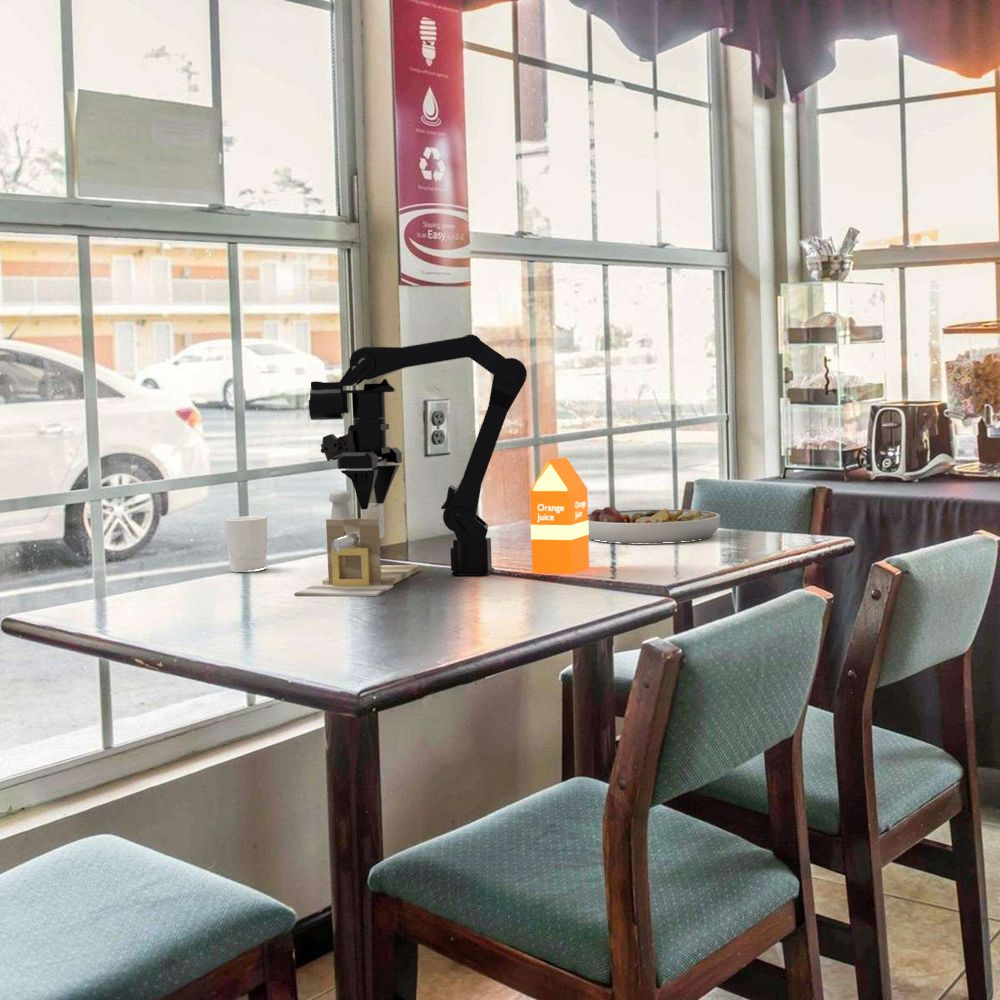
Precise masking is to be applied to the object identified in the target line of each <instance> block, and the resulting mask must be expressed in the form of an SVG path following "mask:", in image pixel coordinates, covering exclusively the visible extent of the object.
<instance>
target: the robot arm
mask: <svg viewBox="0 0 1000 1000" xmlns="http://www.w3.org/2000/svg"><path fill="white" fill-rule="evenodd" d="M466 358H469V359H471V360H472V361H473V362H475V363H476V364H478V365H479V366H481V367H482V368H483V369H484V370H485V371H487V372H488V373H490V374H491V375H492V376H493V377H492V381H491V382H492V383H491V389H490V394H489V400H488V406H487V409H486V412H485V415H484V417H483V420H482V423H481V426H480V429H479V431H478V434H477V435H476V436H477V437H476V439H475V442H474V445H473V449H472V450H471V454H470V457H469V460H468V461H467V465H466V467H465V469H464V473H463V476H462V479H461V480H460V482H459V484H458V485H457V487H456V486H454V485H453V484H450V485H449V486H448V489H447V493H446V494H447V495H446V500H445V502H444V503H443V504H442V505H441V507H440V509H441V510H443V513H442V519H443V522H444V523H443V524H444V525H445V527H446V528H447V529H448V530H450V531H452V532H453V533H454V535H455V539H453V540H452V545H453V546H452V547H451V548H450V570H451V576H488V575H490V574H491V573H493V572H494V571H495V567H493V566H492V563H493V561H492V537H487V534H488V531H489V530H488V529H489V525H488V523H486V521H485V520H484V519H482V518H481V517H480V516H479V515H478V514H477V513H478V507H479V503H480V496H481V491H482V484H483V482H484V478H485V476H486V473H487V470H488V468H489V464H490V461H491V459H492V456H493V454H494V451H495V448H496V445H497V442H498V440H499V437H500V434H501V432H502V428H503V425H504V423H505V421H506V417H507V415H508V413H509V411H510V409H511V407H512V405H513V404H514V403H515V400H516V398H517V396H518V395H519V393H520V391H521V390H522V387H523V386H524V385H525V382H526V380H527V375H528V371H527V368H526V366H525V365H524V363H523V362H522V361H521V360H519V359H517V358H515V357H508V358H507V357H505V356H504V355H502V354H500V353H499V352H497V350H495V349H493V348H492V347H490V346H489V345H488V344H486V343H485V342H484V341H482V340H481V338H480V337H478V336H477V335H475V334H466V335H464V336H461V337H455V338H450V339H442V340H438V341H432V342H431V341H430V342H426V343H420V344H419V343H418V344H414V345H407V346H402V347H398V346H397V347H396V346H394V347H393V346H361V347H359V348H356V349H355V350H354V351H353V353H352V354H351V355H350V358H349V368H348V369H347V370H346V372H345V373H344V374H343V376H341V379H340V380H339V381H329V382H323V381H311V382H310V391H309V399H308V412H309V418H310V420H311V421H323V420H324V421H325V420H327V421H329V420H344V419H345V414H350V411H351V410H350V409H351V401H350V400H351V399H350V394H351V396H352V397H351V398H352V424H350V425H349V426H348V429H347V430H348V431H347V434H344V435H340V436H338V437H337V436H336V435H335V434H333V433H332V434H331V433H330V434H326V435H325V436H322V443H321V444H320V447H321V448H320V452H321V453H322V454H324V455H325V458H326V461H327V462H330V461H335V460H337V469H339V470H340V471H341V474H343V475H345V476H347V478H349V479H350V481H351V482H352V486H353V488H354V491H355V494H356V497H357V501H358V504H359V507H360V509H361V510H362V509H367V508H368V505H369V503H371V498H372V495H373V490H374V494H375V501H376V503H385V500H386V499H387V495H388V493H389V491H390V488H391V486H392V483H393V481H394V479H395V475H396V474H397V471H398V470H399V468H400V465H399V464H400V463H403V459H402V458H403V457H402V451H401V450H400V449H399V448H398V447H390V446H387V430H388V431H389V430H390V423H386V398H385V393H394V392H396V387H394V386H393V385H391V384H390V382H389V380H388V379H386V378H383V380H382V381H380V382H379V383H378V382H376V383H375V382H373V383H364V384H363V385H364V386H363V389H350V390H349V389H347V387H357V386H358V385H360V384H361V383H362V382H364V381H373V380H374V381H375V380H376V379H379V378H381V377H385V376H387V375H391V374H392V373H393V374H394V373H395V372H398V371H400V370H403V369H406V368H407V369H408V368H413V367H419V366H425V365H431V364H436V363H441V362H447V361H448V362H449V361H454V360H458V359H466ZM393 463H394V464H393Z"/></svg>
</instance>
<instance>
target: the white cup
mask: <svg viewBox="0 0 1000 1000" xmlns="http://www.w3.org/2000/svg"><path fill="white" fill-rule="evenodd" d="M224 527H225V529H224V530H225V539H226V548H227V557H228V558H229V559H228V561H229V571H230V572H231V573H237V572H242V571H248V570H255V569H260V568H264V567H266V568H267V554H268V517H267V516H264V515H263V516H262V515H247V516H234V517H228V518H227V517H226V518H224ZM237 574H238V573H237Z"/></svg>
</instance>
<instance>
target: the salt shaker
mask: <svg viewBox="0 0 1000 1000" xmlns="http://www.w3.org/2000/svg"><path fill="white" fill-rule="evenodd" d="M328 499H329V501H330V503H332V505H331V506H332V507H331V512H330V513H331V514H330V519H352V518H351V513H350V509H349V504H348V503H349V502H351V493H350V492H349V491H348V490H344V489H343V490H342V489H340V490H333V491H331V492H329V498H328ZM353 533H355V532H346V536H347V535H350V534H353ZM352 547H355V545H354V546H352Z"/></svg>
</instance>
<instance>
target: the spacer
mask: <svg viewBox="0 0 1000 1000" xmlns="http://www.w3.org/2000/svg"><path fill="white" fill-rule="evenodd" d="M341 555H361V569H362V578H342V561H341ZM331 556H332V580H333V586H370V585H372V577H371V552H370V547H349V548H346V549H344V550H341V551H334V550H333V549H332V548H331Z"/></svg>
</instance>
